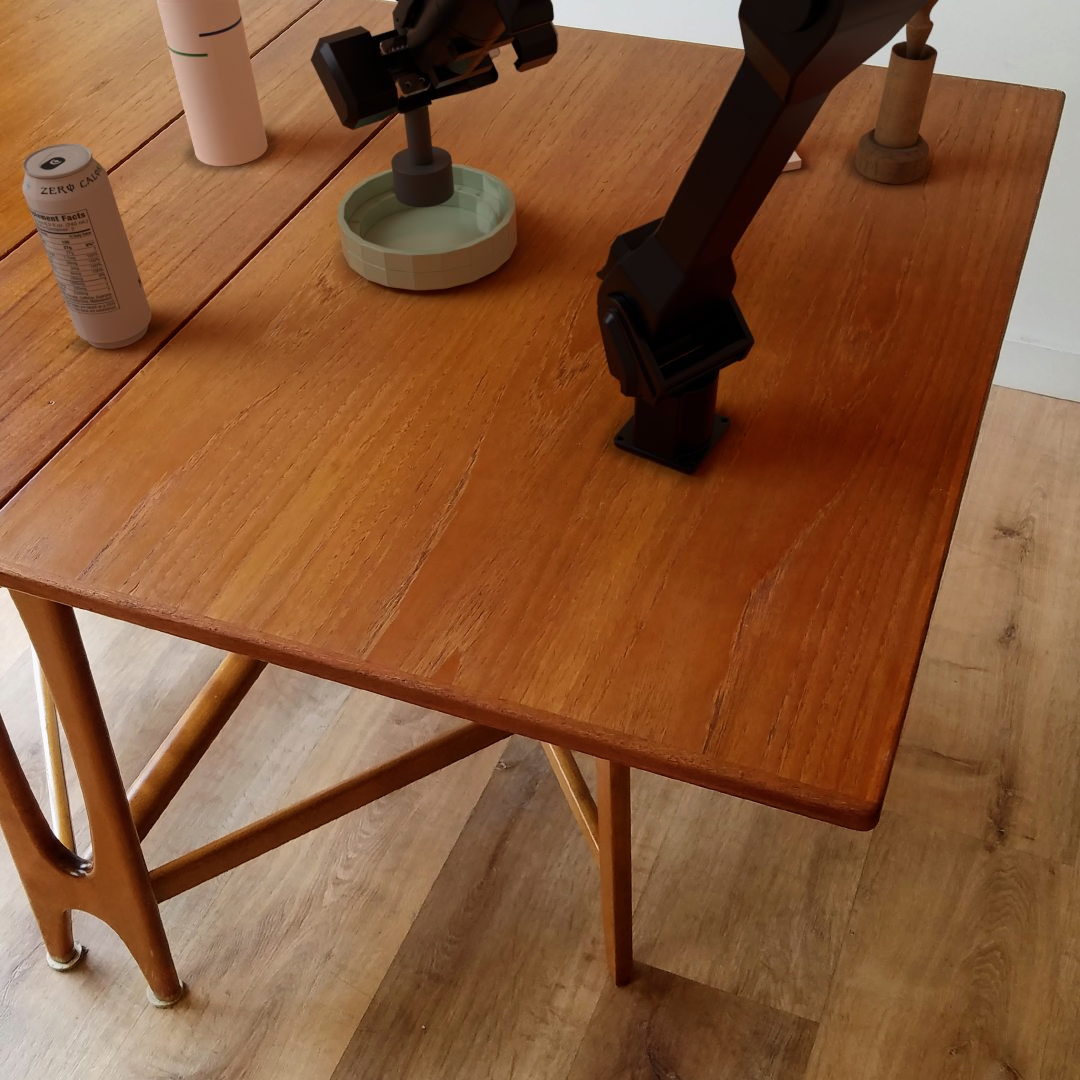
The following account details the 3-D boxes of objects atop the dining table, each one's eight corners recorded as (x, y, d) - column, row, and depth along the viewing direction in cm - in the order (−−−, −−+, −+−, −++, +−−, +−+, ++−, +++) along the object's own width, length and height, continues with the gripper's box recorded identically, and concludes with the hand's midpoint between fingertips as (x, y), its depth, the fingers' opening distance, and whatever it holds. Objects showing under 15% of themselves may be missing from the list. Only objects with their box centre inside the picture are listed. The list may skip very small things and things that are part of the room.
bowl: (452, 315, 94) (448, 273, 91) (308, 265, 100) (300, 223, 97) (549, 229, 103) (548, 188, 100) (411, 187, 109) (407, 148, 106)
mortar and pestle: (925, 187, 107) (973, -15, 94) (853, 181, 108) (891, -20, 95) (923, 153, 111) (969, -45, 98) (854, 148, 112) (891, -49, 99)
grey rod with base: (393, 208, 96) (369, 25, 85) (397, 178, 100) (375, -1, 89) (453, 206, 96) (436, 23, 85) (455, 177, 100) (439, -3, 89)
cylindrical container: (274, 157, 114) (218, -124, 96) (202, 172, 112) (131, -112, 94) (259, 126, 118) (202, -147, 100) (189, 140, 117) (119, -136, 99)
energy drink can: (170, 320, 95) (117, 148, 84) (121, 360, 91) (59, 186, 80) (113, 302, 97) (54, 133, 86) (63, 341, 93) (-5, 169, 82)
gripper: (532, -140, 82) (458, -22, 96) (299, -81, 74) (256, 38, 89) (600, 7, 83) (517, 102, 97) (377, 80, 76) (322, 172, 90)
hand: (406, 100), depth 93 cm, fingers closed on grey rod with base
